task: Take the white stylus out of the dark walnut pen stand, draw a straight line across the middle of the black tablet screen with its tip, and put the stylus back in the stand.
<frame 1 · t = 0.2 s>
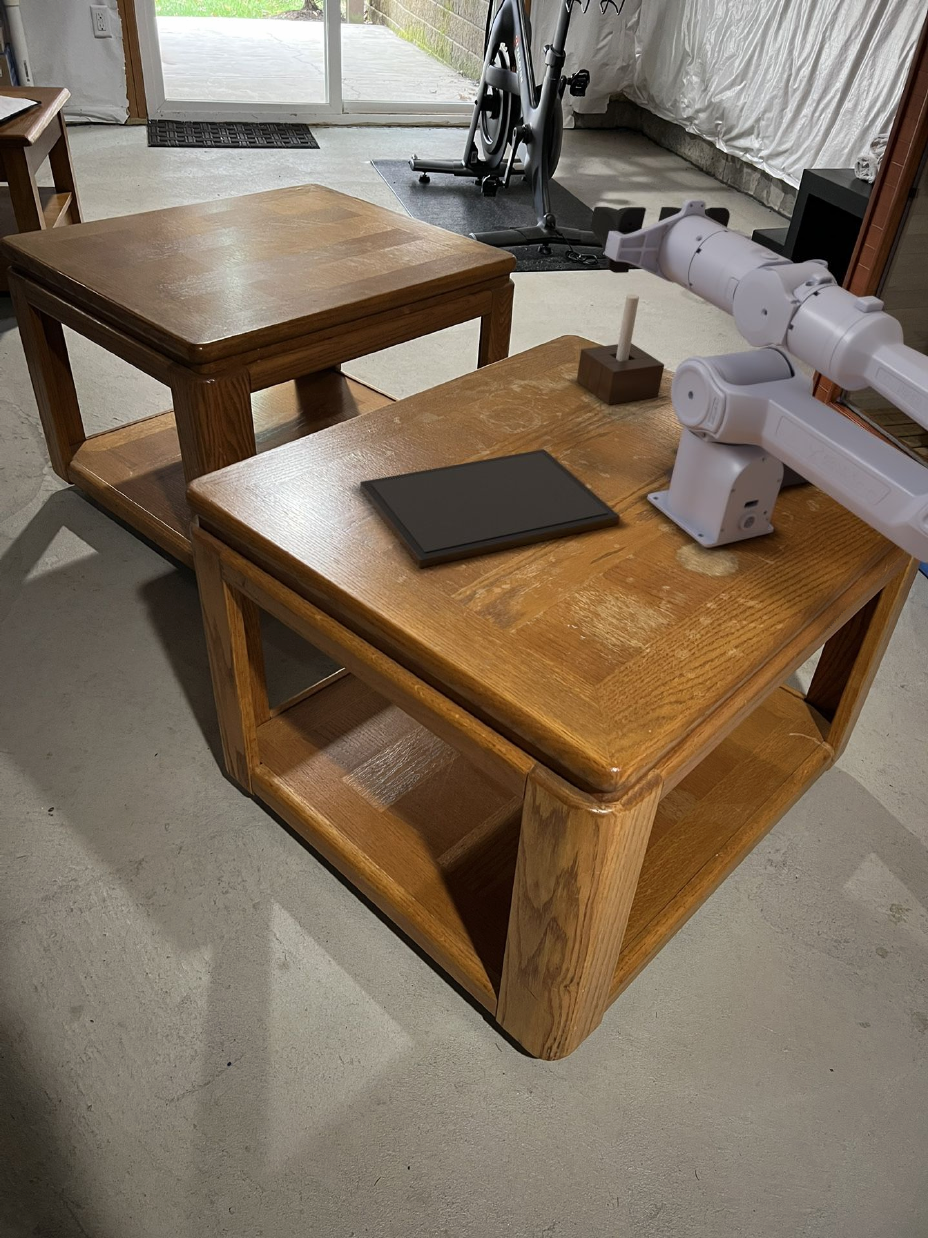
hand: (629, 217, 89), 22 cm above the table, tool horizontal, fingers open, 7 cm apart
grey box with panels: (766, 463, 98), on the table
pen stand: (616, 388, 111), on the table
tablet: (487, 507, 87), on the table
stylus: (616, 389, 111), resting in pen stand
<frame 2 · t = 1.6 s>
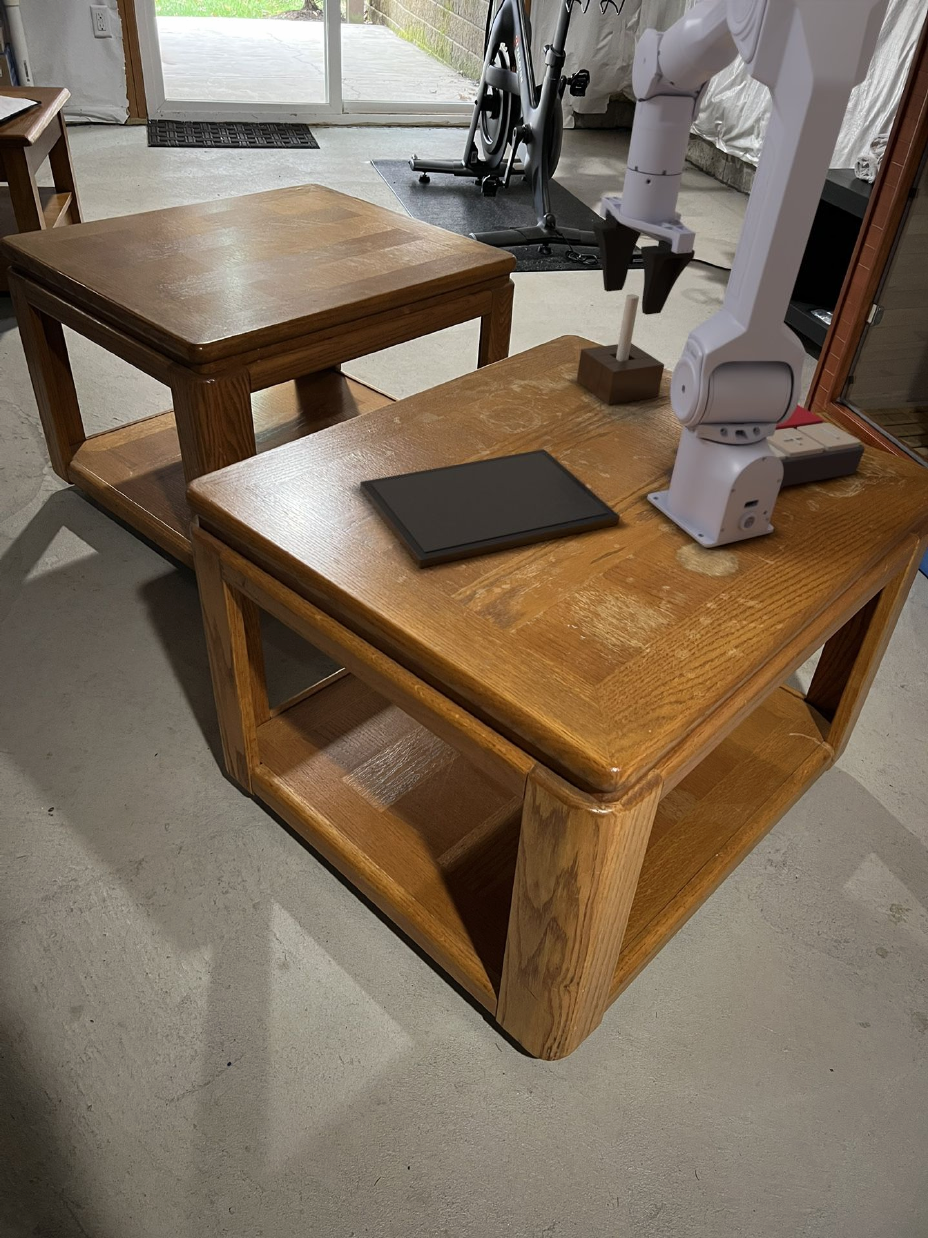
hand: (631, 301, 104), 10 cm above the table, tool pointing down, fingers open, 7 cm apart
nothing on the table moved.
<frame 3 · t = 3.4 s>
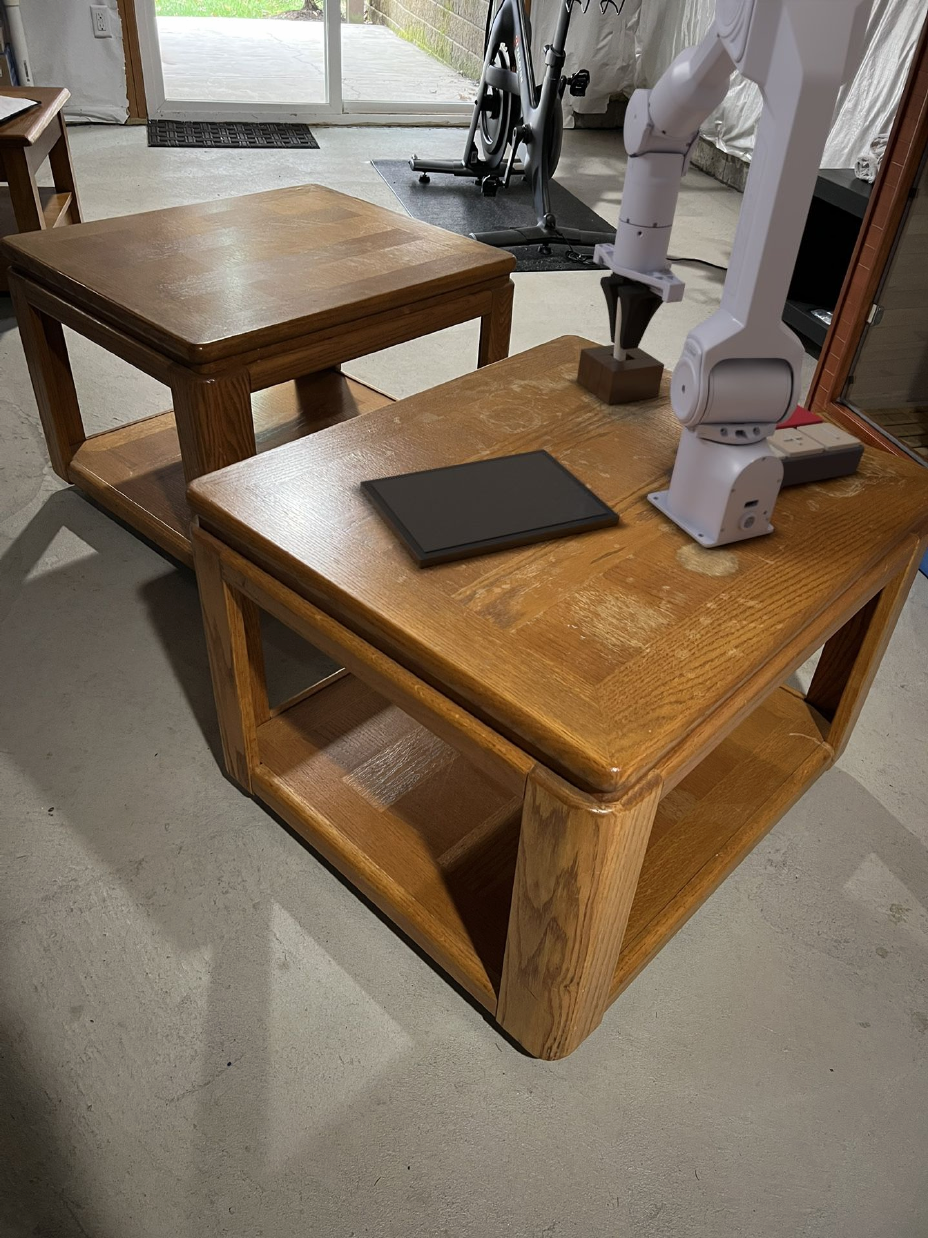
hand: (624, 344, 107), 5 cm above the table, tool pointing down, fingers closed on stylus, 1 cm apart
stylus: (616, 388, 111), resting in pen stand, tilted 6°, touching gripper
everything else where it was.
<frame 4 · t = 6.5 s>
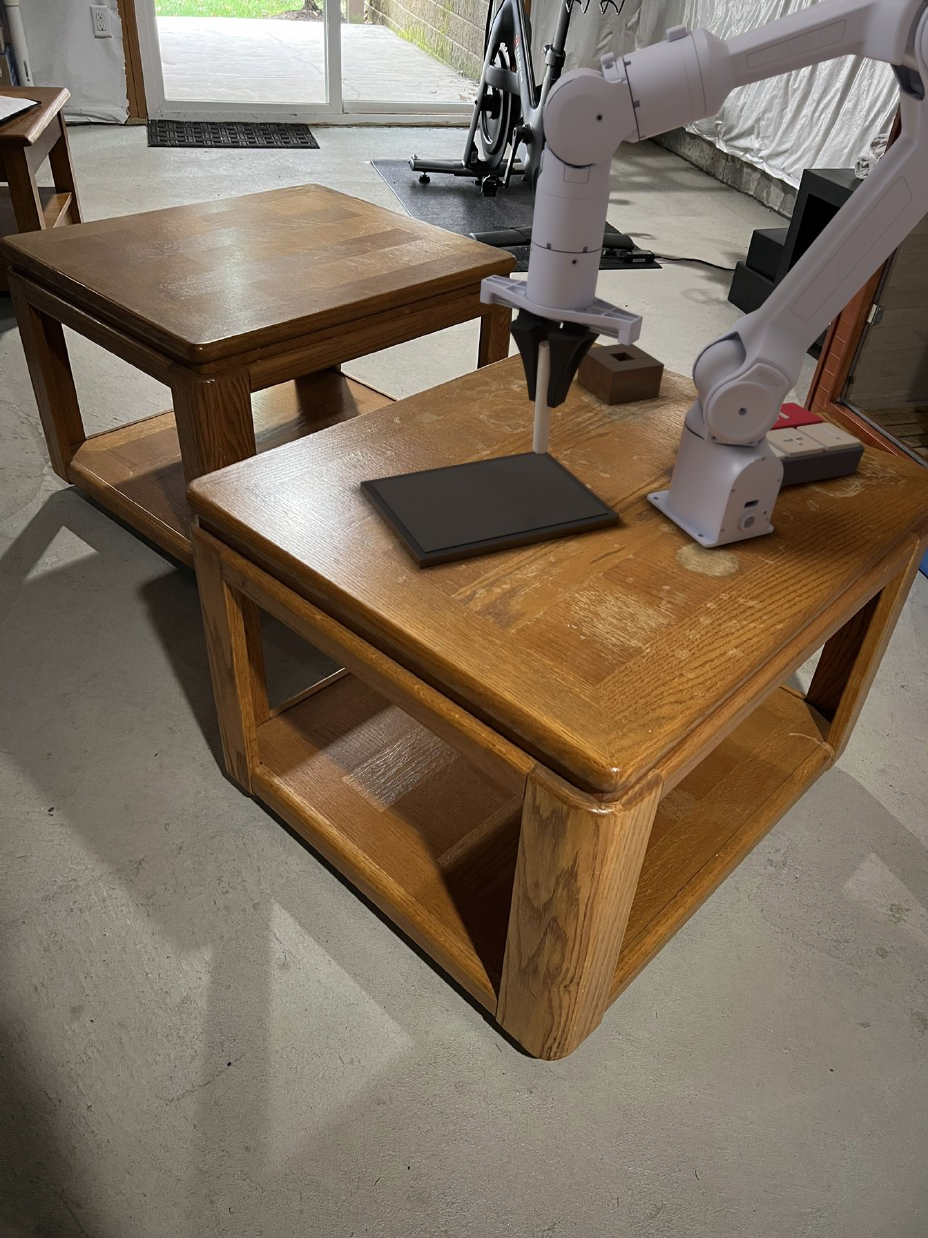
hand: (546, 400, 83), 10 cm above the table, tool pointing down, fingers closed on stylus
stylus: (539, 455, 86), point 4 cm above the table, tilted 6°, touching gripper
everything else where it was.
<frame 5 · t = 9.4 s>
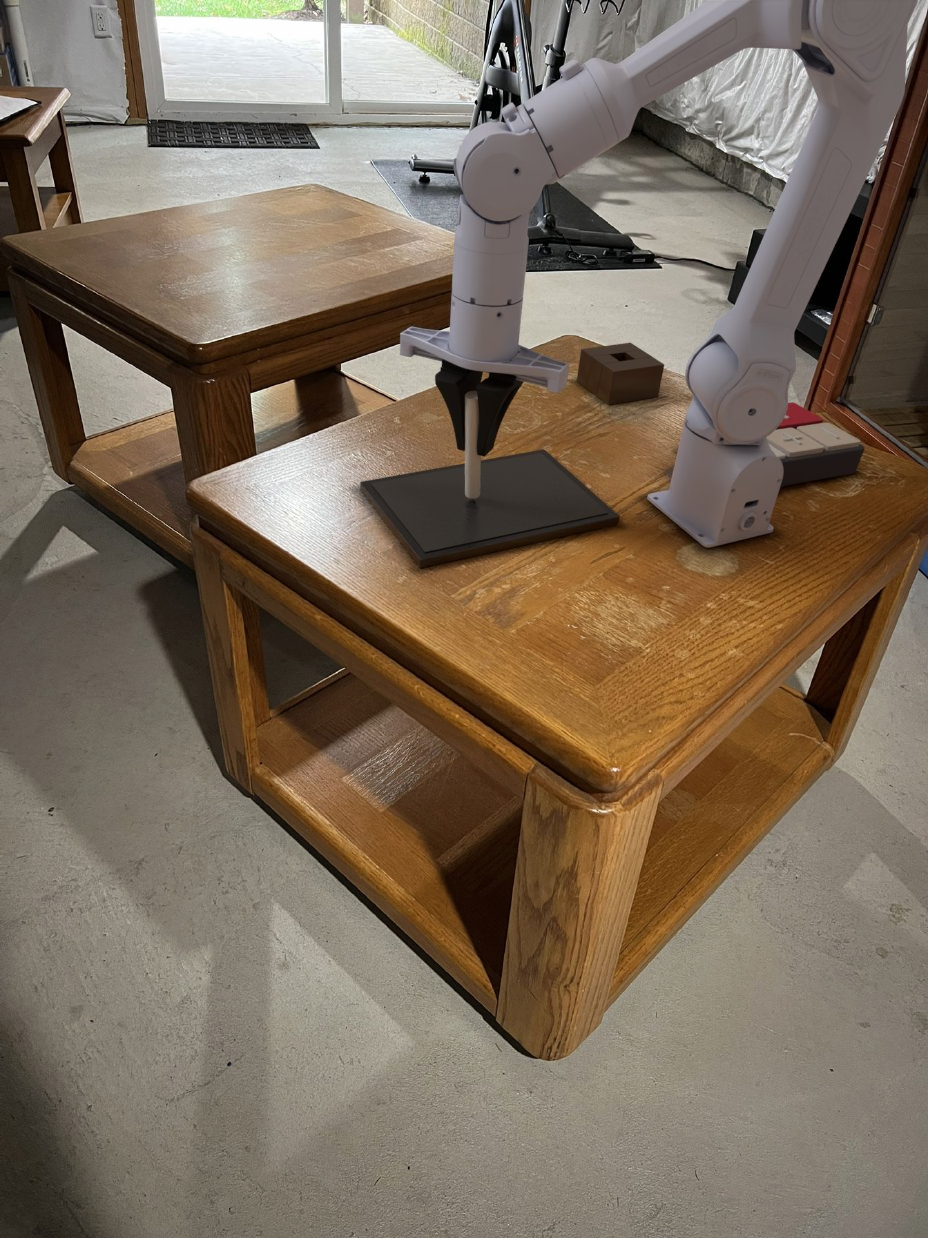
hand: (475, 448, 82), 6 cm above the table, tool pointing down, fingers closed on stylus, 1 cm apart
stylus: (472, 499, 86), point 1 cm above the table, tilted 8°, touching gripper
everything else where it was.
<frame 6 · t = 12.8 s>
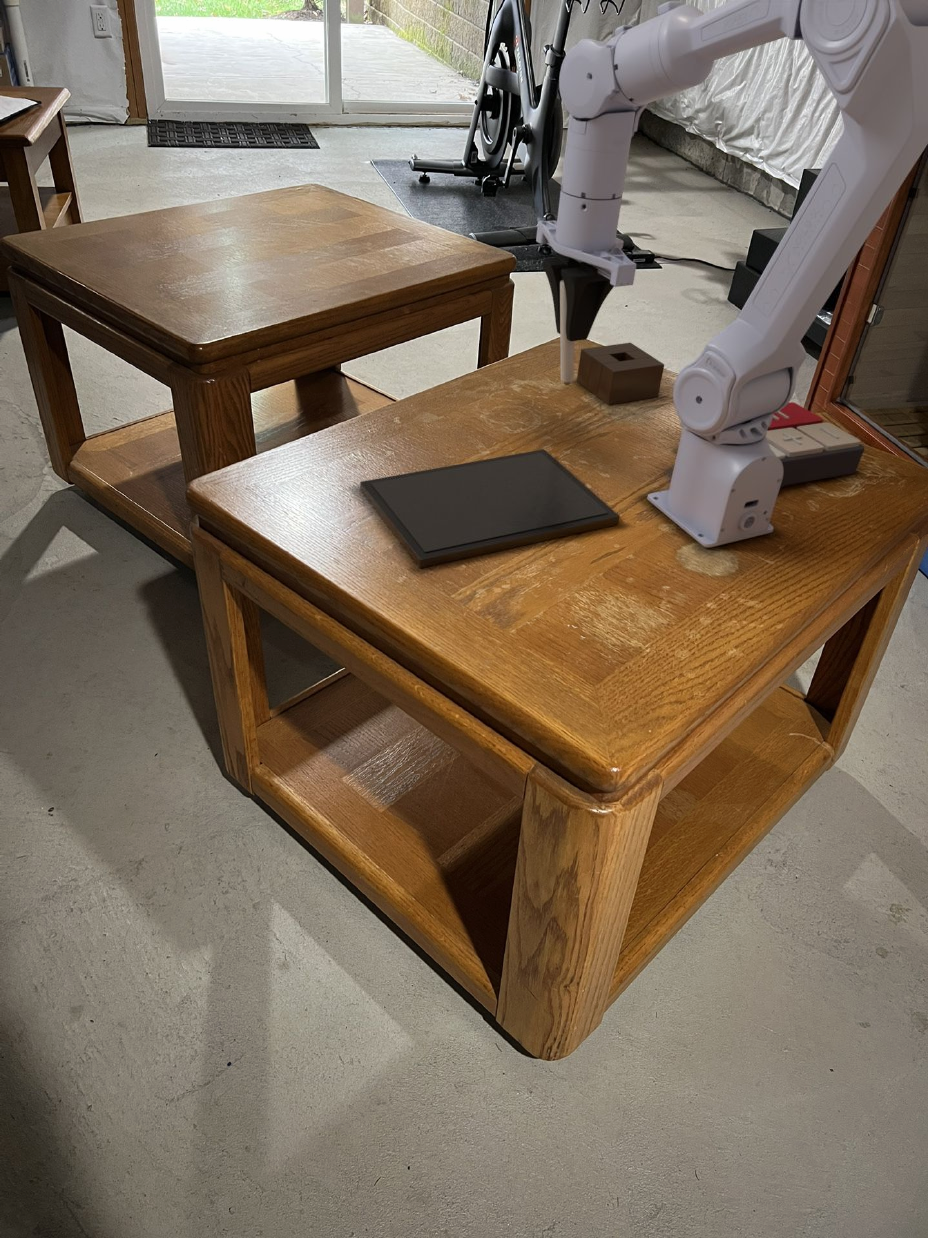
hand: (572, 335, 95), 10 cm above the table, tool pointing down, fingers closed on stylus
stylus: (567, 384, 98), point 5 cm above the table, tilted 9°, touching gripper
everything else where it was.
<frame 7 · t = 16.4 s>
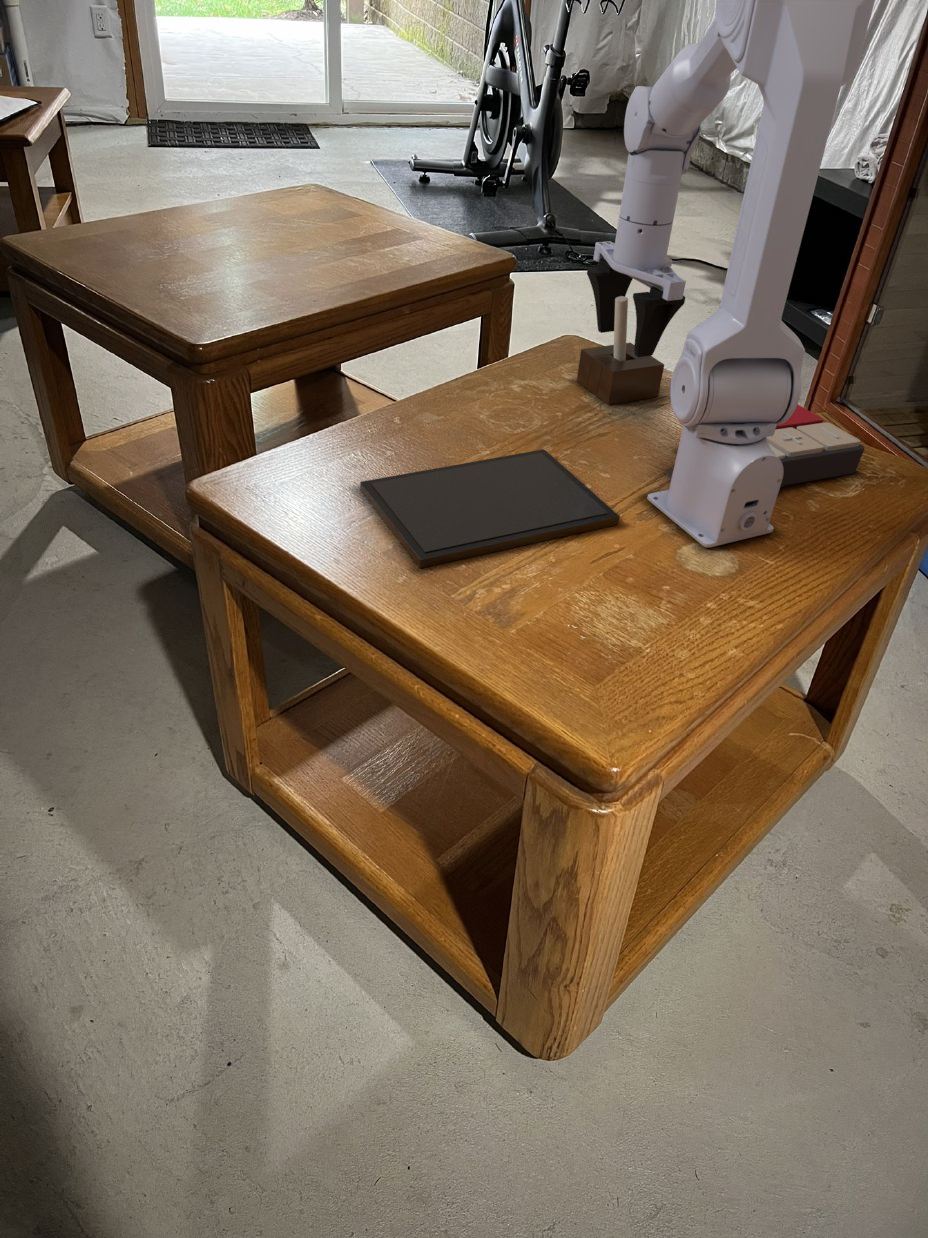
hand: (624, 342, 107), 6 cm above the table, tool pointing down, fingers open, 7 cm apart
stylus: (618, 388, 111), resting in pen stand, tilted 9°
everything else where it was.
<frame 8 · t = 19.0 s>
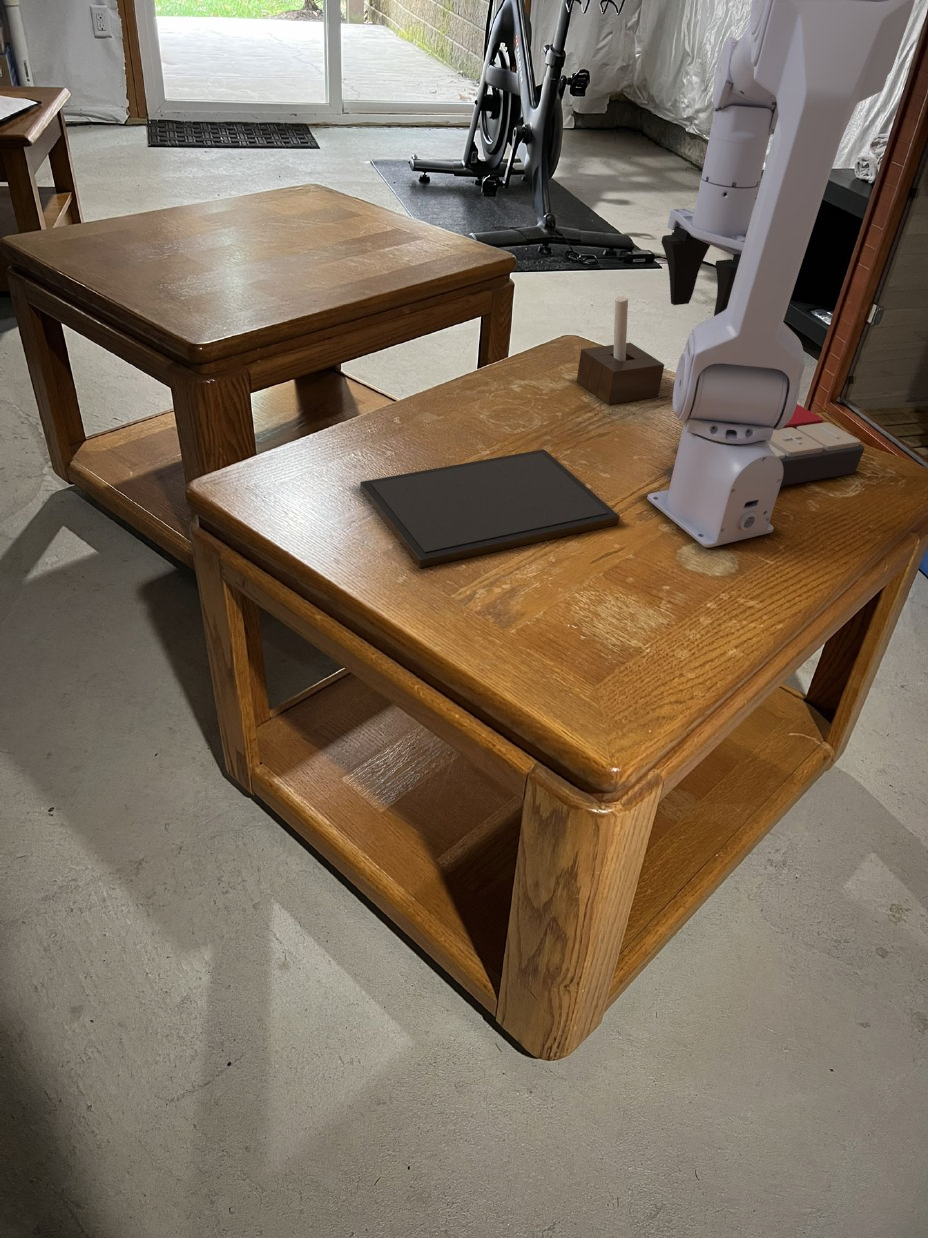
hand: (700, 315, 102), 10 cm above the table, tool pointing down, fingers open, 7 cm apart
nothing on the table moved.
at the end: stylus 0.2 cm off-centre in the pen stand, point 0.0 cm above the pen stand's base; stylus tilted 9°; stylus touching pen stand, table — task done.
